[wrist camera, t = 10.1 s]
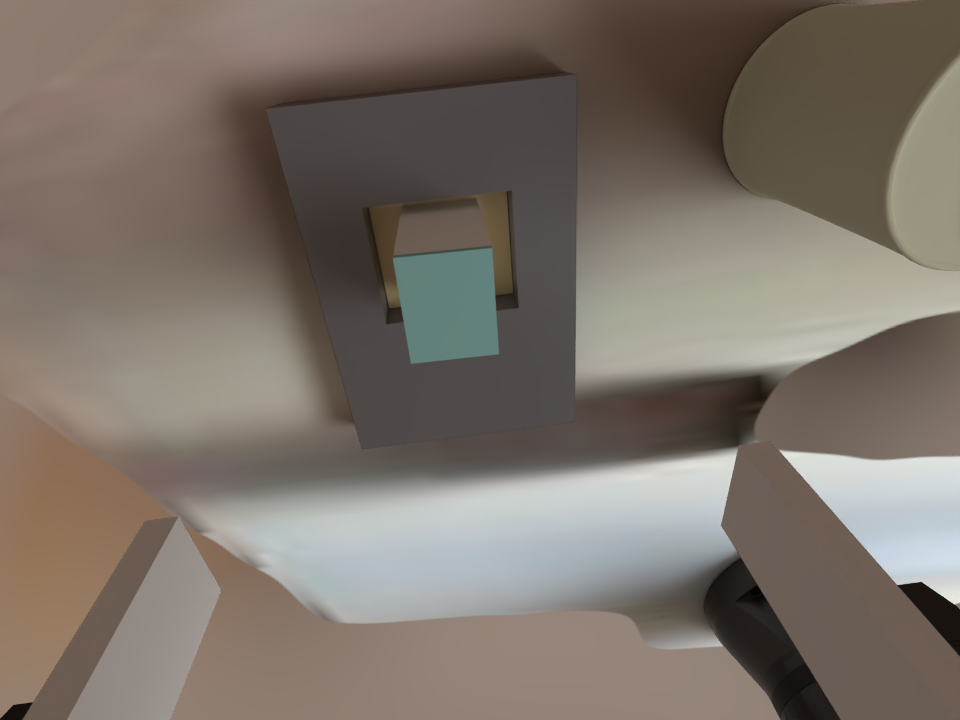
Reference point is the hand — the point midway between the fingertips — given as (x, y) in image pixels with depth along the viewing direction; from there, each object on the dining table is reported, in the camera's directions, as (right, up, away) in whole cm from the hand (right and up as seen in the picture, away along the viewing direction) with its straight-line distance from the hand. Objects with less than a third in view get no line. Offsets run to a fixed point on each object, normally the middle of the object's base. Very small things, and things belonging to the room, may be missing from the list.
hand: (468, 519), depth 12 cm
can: (+18, +17, +15) cm, 29 cm away
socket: (-2, +9, +18) cm, 20 cm away
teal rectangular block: (-2, +10, +16) cm, 19 cm away
